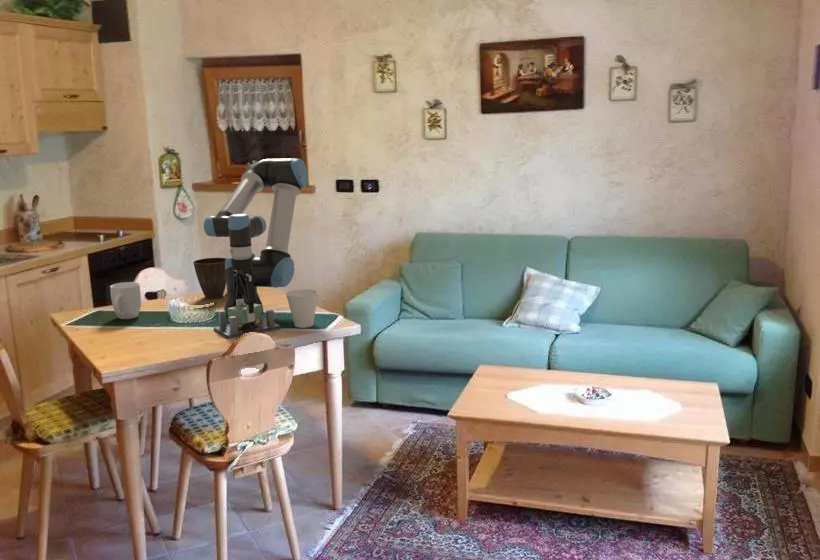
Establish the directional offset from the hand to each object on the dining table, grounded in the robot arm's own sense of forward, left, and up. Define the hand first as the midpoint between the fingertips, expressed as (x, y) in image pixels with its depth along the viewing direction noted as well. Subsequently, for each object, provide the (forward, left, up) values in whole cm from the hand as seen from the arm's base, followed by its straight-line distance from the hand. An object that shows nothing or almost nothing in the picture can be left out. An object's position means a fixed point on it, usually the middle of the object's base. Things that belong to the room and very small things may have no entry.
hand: (246, 318), depth 280 cm
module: (0, 0, 0) cm, 0 cm away
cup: (+8, +19, -4) cm, 21 cm away
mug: (-47, -31, -4) cm, 56 cm away
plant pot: (-60, +9, -4) cm, 61 cm away
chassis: (0, 0, -4) cm, 4 cm away
